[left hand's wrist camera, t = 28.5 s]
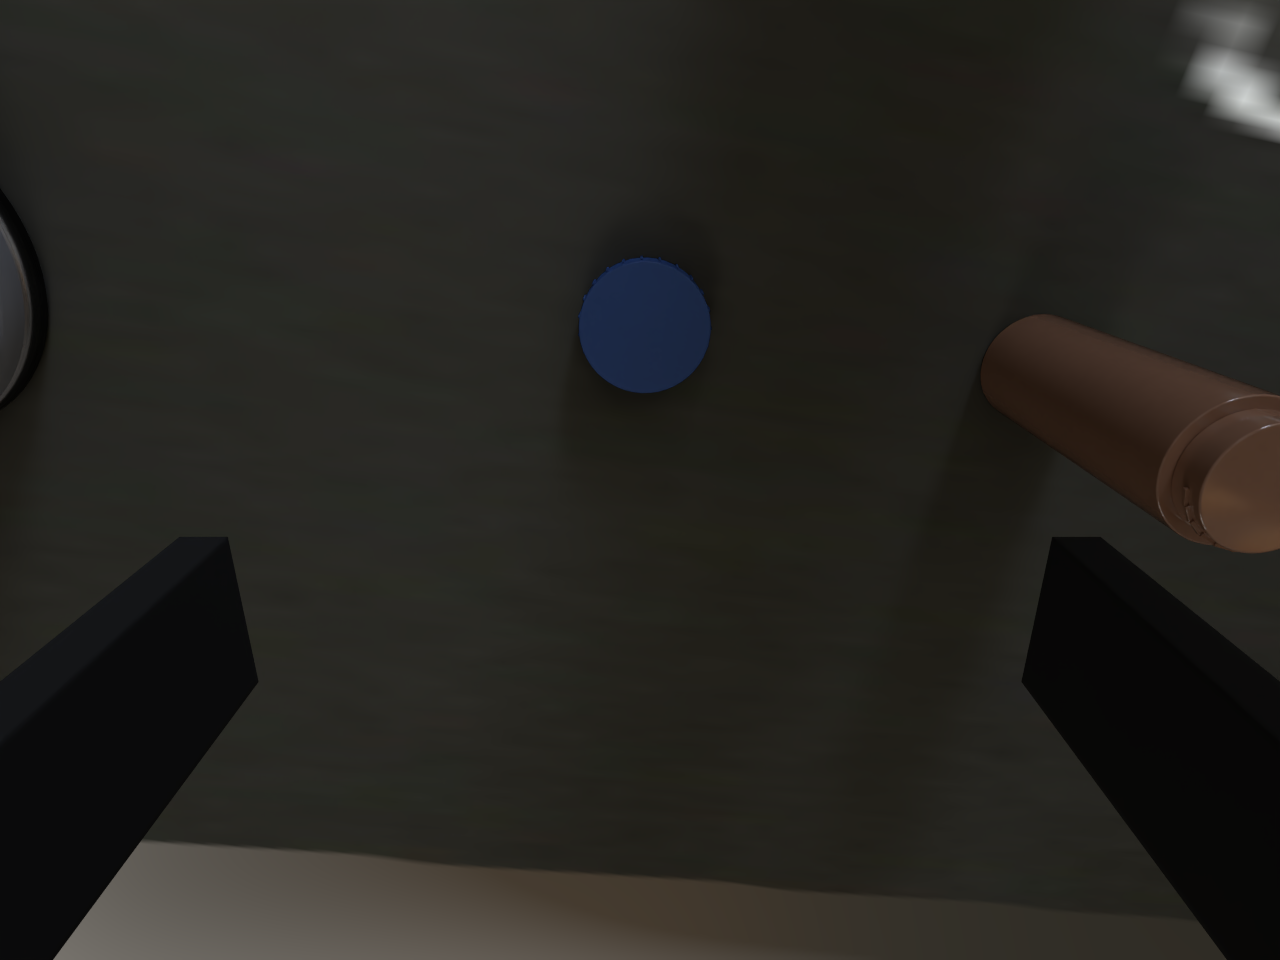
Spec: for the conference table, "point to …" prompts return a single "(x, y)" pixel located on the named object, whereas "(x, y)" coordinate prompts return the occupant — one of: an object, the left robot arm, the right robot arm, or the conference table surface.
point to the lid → (644, 325)
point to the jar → (1146, 427)
